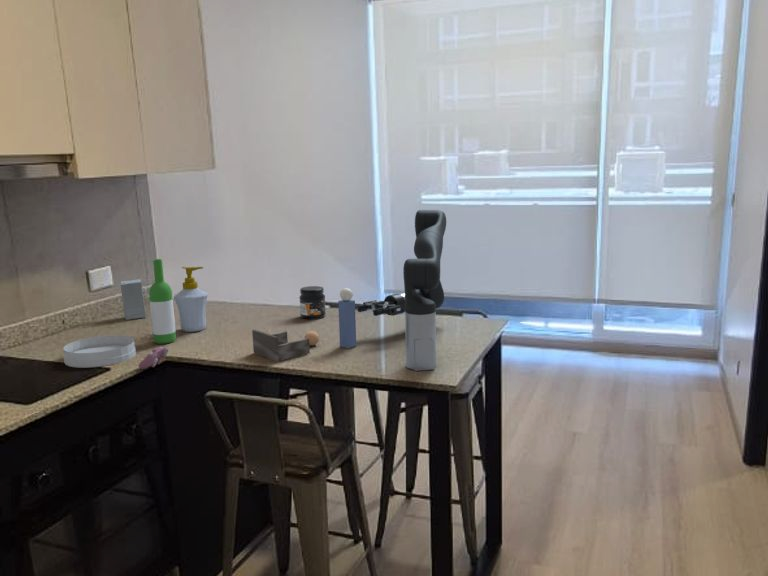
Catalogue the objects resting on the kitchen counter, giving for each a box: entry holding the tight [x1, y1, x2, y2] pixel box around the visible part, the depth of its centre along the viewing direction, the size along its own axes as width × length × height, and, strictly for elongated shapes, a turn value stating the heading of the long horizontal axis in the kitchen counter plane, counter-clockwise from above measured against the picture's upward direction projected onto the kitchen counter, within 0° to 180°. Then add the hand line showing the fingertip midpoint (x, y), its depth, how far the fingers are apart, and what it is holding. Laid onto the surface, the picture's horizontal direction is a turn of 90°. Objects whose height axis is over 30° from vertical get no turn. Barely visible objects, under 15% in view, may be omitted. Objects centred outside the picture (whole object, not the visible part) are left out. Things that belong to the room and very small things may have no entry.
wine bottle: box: [148, 258, 177, 345], centre depth 229 cm, size 8×8×30 cm
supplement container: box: [298, 285, 327, 320], centre depth 263 cm, size 10×10×12 cm
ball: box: [304, 330, 320, 347], centre depth 222 cm, size 5×5×5 cm
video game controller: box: [138, 346, 169, 370], centre depth 204 cm, size 10×5×7 cm, turn 169°
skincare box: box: [119, 279, 147, 321], centre depth 269 cm, size 8×7×16 cm
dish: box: [62, 334, 137, 369], centre depth 214 cm, size 22×22×5 cm
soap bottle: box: [173, 266, 209, 333], centre depth 246 cm, size 13×13×25 cm
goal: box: [251, 329, 311, 363], centre depth 213 cm, size 13×14×8 cm
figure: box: [337, 287, 357, 349], centre depth 218 cm, size 4×4×20 cm
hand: (365, 311), depth 224 cm, fingers open, 8 cm apart
